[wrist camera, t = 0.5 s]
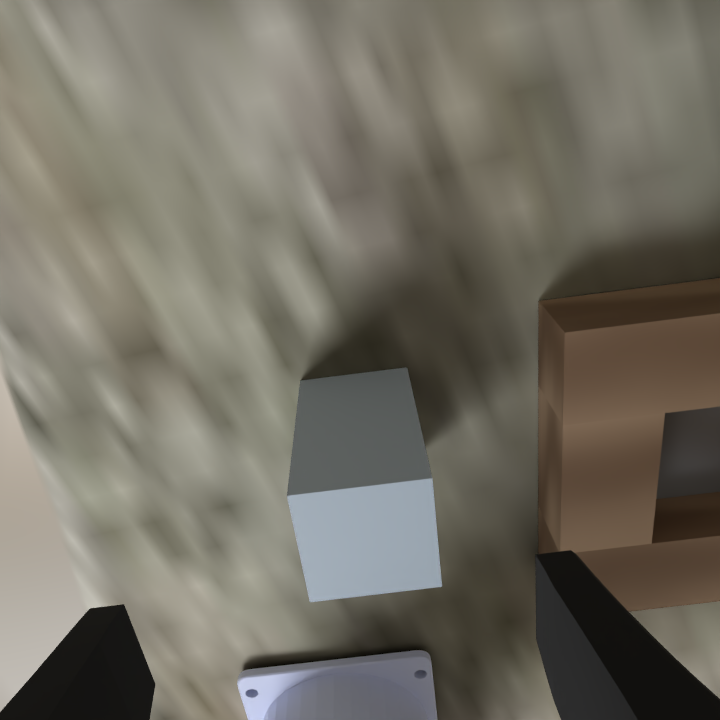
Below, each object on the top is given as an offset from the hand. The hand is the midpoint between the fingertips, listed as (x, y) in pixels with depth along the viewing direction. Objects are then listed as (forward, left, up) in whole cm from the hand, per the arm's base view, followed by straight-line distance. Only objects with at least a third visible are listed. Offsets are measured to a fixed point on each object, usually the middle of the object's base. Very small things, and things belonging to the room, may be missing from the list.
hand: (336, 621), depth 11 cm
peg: (-2, -1, -10) cm, 11 cm away
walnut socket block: (-4, -12, -10) cm, 16 cm away
